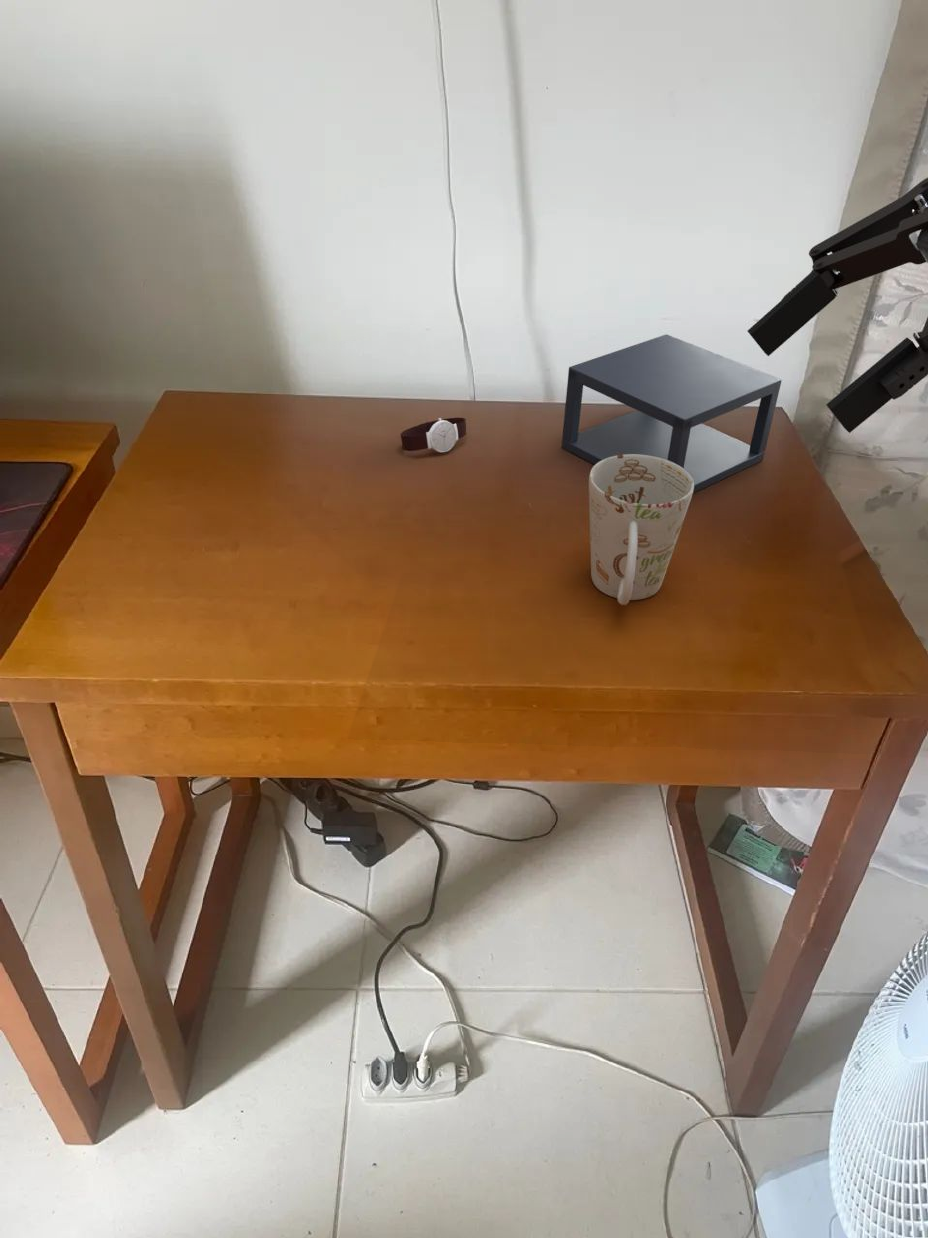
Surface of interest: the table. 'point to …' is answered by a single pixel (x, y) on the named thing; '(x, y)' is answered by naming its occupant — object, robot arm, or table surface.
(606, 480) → the mug
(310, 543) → the table surface
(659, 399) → the shelf
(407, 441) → the watch
